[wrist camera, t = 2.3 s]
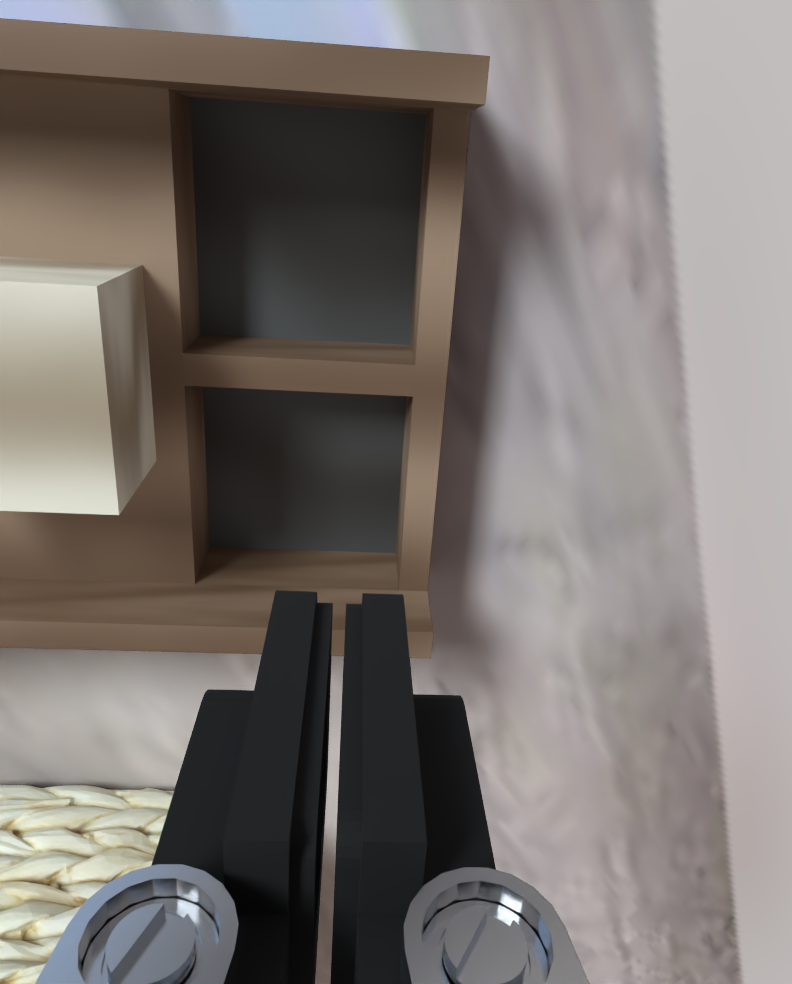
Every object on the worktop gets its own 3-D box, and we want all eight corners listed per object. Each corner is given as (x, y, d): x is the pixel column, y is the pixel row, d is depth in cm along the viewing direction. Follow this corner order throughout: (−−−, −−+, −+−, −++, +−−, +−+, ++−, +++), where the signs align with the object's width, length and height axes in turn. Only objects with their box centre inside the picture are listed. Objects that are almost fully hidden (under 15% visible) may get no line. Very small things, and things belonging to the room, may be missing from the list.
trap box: (-391, 14, 21) (-691, -46, 15) (461, 77, 22) (497, 47, 16) (-224, 552, 28) (-384, 659, 22) (418, 573, 29) (433, 679, 23)
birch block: (-77, 252, 21) (-169, 271, 17) (142, 264, 21) (96, 286, 18) (-39, 452, 23) (-114, 506, 20) (156, 460, 24) (119, 515, 20)
